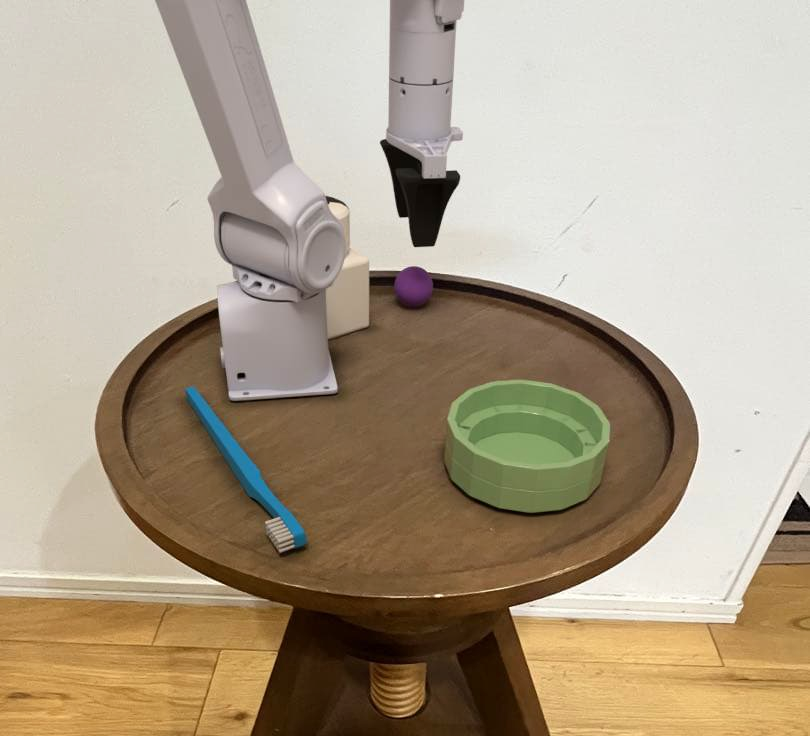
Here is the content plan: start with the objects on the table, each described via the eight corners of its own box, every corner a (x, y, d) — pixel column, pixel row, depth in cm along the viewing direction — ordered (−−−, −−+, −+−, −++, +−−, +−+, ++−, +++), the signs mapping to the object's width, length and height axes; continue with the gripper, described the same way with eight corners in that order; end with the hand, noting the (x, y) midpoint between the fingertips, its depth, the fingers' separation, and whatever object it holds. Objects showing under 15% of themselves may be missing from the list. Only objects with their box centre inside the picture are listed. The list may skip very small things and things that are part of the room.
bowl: (465, 524, 62) (470, 475, 59) (430, 432, 71) (433, 385, 68) (623, 509, 64) (635, 460, 61) (569, 421, 73) (578, 374, 70)
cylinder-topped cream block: (272, 318, 86) (262, 197, 78) (331, 301, 89) (328, 183, 81) (309, 346, 82) (303, 222, 74) (370, 327, 85) (370, 206, 77)
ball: (397, 314, 87) (398, 277, 85) (391, 297, 90) (391, 260, 88) (435, 312, 88) (437, 275, 85) (427, 295, 91) (429, 259, 88)
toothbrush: (200, 400, 74) (178, 406, 74) (196, 381, 73) (173, 387, 72) (307, 548, 59) (281, 558, 58) (305, 527, 58) (277, 537, 57)
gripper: (485, 98, 70) (472, 257, 79) (447, 58, 81) (439, 202, 90) (401, 100, 69) (398, 261, 78) (374, 59, 80) (374, 205, 89)
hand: (415, 230), depth 84 cm, fingers open, 7 cm apart
